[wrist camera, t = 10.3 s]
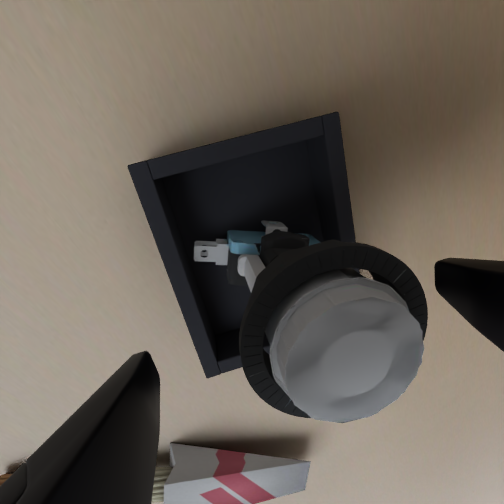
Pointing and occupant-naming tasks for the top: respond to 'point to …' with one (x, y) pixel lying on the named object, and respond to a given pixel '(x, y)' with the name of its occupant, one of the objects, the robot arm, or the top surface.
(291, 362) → the push button
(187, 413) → the top surface
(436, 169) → the top surface
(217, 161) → the black hollow square tray
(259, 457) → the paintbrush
